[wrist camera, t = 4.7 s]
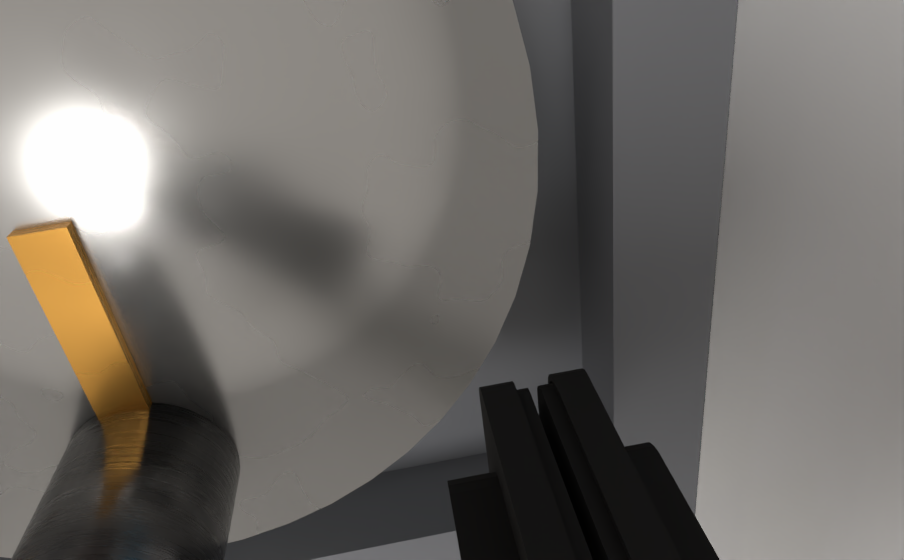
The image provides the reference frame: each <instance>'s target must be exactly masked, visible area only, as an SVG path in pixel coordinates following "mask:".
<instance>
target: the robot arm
mask: <svg viewBox="0 0 904 560" xmlns="http://www.w3.org/2000/svg"><path fill="white" fill-rule="evenodd" d="M479 396H480V404H481V412H482V420H483V428H484V436H485V444H486V451H487V459H488V467H489V473H485V474H479V475H474V476H469V477H464V478H459V479H453V480H448V481H447V482H448V488H449V494H450V500H451V505H452V511H453V517H454V523H455V529H456V534H457V540H458V546H459V551H460V557H461V560H719V558H718V556H717V554H716V552H715V551H714V549H713V547H712V545H711V544H710V542H709V540H708V538H707V537H706V535H705V533H704V531H703V529H702V528H701V526H700V524H699V522H698V521H697V519H696V517H695V515H694V513H693V512H692V510H691V508H690V506H689V505H688V503H687V501H686V499H685V498H684V496H683V494H682V492H681V490H680V489H679V487H678V485H677V483H676V482H675V480H674V478H673V476H672V475H671V473H670V471H669V469H668V467H667V466H666V464H665V462H664V460H663V459H662V457H661V455H660V453H659V452H658V450H657V449H656V448H655V446H654V445H653V444H651V443H650V442H646V443H641V444H636V445H631V446H625V447H624V445H623V443H622V441H621V439H620V437H619V435H618V433H617V431H616V429H615V427H614V425H613V423H612V421H611V419H610V417H609V415H608V413H607V411H606V409H605V407H604V405H603V403H602V401H601V399H600V397H599V395H598V393H597V392H596V390H595V388H594V386H593V384H592V382H591V380H590V378H589V376H588V374H587V372H586V371H585V369H583V368H581V369H575V370H570V371H565V372H559V373H554V374H549V376H548V384H545V385H540V386H538V387H537V396H538V410H539V414H538V412H537V409H536V406H535V404H534V401H533V398H532V396H531V393H530V391H529V389H528V388H523V389H518V390H517V389H516V387H515V384H514V382H513V381H510V382H505V383H499V384H494V385H489V386H483V387H479Z"/></svg>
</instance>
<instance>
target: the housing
mask: <svg viewBox="0 0 904 560" xmlns="http://www.w3.org/2000/svg"><path fill="white" fill-rule="evenodd" d="M513 4H514V7H515V11H516V15H517V19H518V23H519V27H520V30H521V34H522V38H523V42H524V46H525V49H526V53H527V57H528V61H529V65H530V71H531V79H532V87H533V95H534V102H535V110H536V118H537V126H538V192H537V199H536V206H535V213H534V220H533V227H532V234H531V241H530V247H529V250H528V254H527V257H526V261H525V264H524V268H523V271H522V275H521V278H520V282H519V285H518V289H517V293H516V296H515V298H514V301H513V303H512V305H511V308H510V310H509V312H508V314H507V317H506V319H505V321H504V323H503V326H502V328H501V330H500V333H499V335H498V337H497V339H496V342H495V343H494V345H493V347H492V348H491V350H490V352H489V353H488V355H487V357H486V358H485V360H484V362H483V363H482V365H481V366H480V368H479V370H478V371H477V373H476V375H475V376H474V378H473V380H472V381H471V383H470V384H469V386H468V387H467V388H466V389H465V390H464V392H463V393H462V394H461V395H460V397H459V398H458V399H457V400H456V402H455V403H454V404H453V405H452V407H451V408H450V409H449V410H448V412H447V413H446V414H445V415H444V417H443V418H442V419H441V420H440V421H439V422H438V423H437V424H436V425H435V426H434V427H433V428H432V429H431V430H430V431H429V432H428V433H427V434H426V435H425V436H424V437H423V438H422V439H421V440H420V441H419V442H418V443H417V444H416V445H415V446H414V447H412V448H411V449H410V450H409V451H408V452H407V453H406V454H405V455H403V456H402V457H401V458H399V459H398V460H397V461H395V462H394V463H393V464H392V465H390V466H389V467H388V468H386V469H385V470H384V471H382V472H381V473H380V474H378V475H377V476H376V477H374V478H373V479H372V480H370V481H369V482H367V483H365V484H364V485H362V486H360V487H359V488H357V489H355V490H354V491H352V492H350V493H349V494H347V495H345V496H344V497H342V498H340V499H339V500H337V501H335V502H334V503H332V504H330V505H328V506H326V507H324V508H321V509H319V510H317V511H315V512H313V513H311V514H308V515H306V516H304V517H302V518H300V519H298V520H296V521H293V522H291V523H289V524H286V525H283V526H281V527H278V528H275V529H272V530H269V531H266V532H263V533H260V534H257V535H255V536H252V537H249V538H246V539H243V540H239V541H235V542H231V543H227V548H226V554H225V559H224V560H461V557H460V551H459V546H458V540H457V534H456V529H455V523H454V517H453V511H452V505H451V500H450V494H449V488H448V482H447V481H448V480H453V479H459V478H464V477H469V476H474V475H479V474H485V473H489V467H488V459H487V451H486V444H485V436H484V428H483V420H482V412H481V404H480V396H479V387H483V386H489V385H494V384H499V383H505V382H510V381H513V382H514V384H515V387H516V389H517V390H518V389H523V388H528V389H529V391H530V393H531V396H532V398H533V401H534V404H535V406H536V409H537V412H538V414H539V410H538V396H537V387H538V386H540V385H545V384H548V376H549V374H554V373H559V372H565V371H570V370H575V369H581V368H583V369H585V371H586V372H587V374H588V376H589V378H590V380H591V382H592V384H593V386H594V388H595V390H596V392H597V393H598V395H599V397H600V399H601V401H602V403H603V405H604V407H605V409H606V411H607V413H608V415H609V417H610V419H611V421H612V423H613V425H614V427H615V429H616V431H617V433H618V435H619V437H620V439H621V441H622V443H623V445H624V447H625V446H631V445H636V444H641V443H646V442H650V443H651V444H653V445H654V446H655V448H656V449H657V450H658V452H659V453H660V455H661V457H662V459H663V460H664V462H665V464H666V466H667V467H668V469H669V471H670V473H671V475H672V476H673V478H674V480H675V482H676V483H677V485H678V487H679V489H680V490H681V492H682V494H683V496H684V498H685V499H686V501H687V503H688V505H689V506H690V508H691V510H692V512H693V513H694V515H695V509H696V497H697V485H698V473H699V461H700V449H701V437H702V426H703V414H704V402H705V390H706V378H707V366H708V354H709V342H710V330H711V318H712V306H713V295H714V283H715V271H716V259H717V247H718V235H719V223H720V211H721V199H722V187H723V175H724V164H725V152H726V140H727V128H728V116H729V104H730V92H731V80H732V68H733V56H734V44H735V33H736V21H737V9H738V0H513ZM0 560H11V558H6V557H0Z"/></svg>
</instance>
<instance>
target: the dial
mask: <svg viewBox="0 0 904 560" xmlns="http://www.w3.org/2000/svg"><path fill="white" fill-rule="evenodd" d="M537 192H538V126H537V118H536V110H535V102H534V95H533V87H532V79H531V71H530V65H529V61H528V57H527V53H526V49H525V46H524V42H523V38H522V34H521V30H520V27H519V23H518V19H517V15H516V11H515V7H514V4H513V0H0V557H6V558H11V560H224V559H225V554H226V548H227V543H231V542H235V541H239V540H243V539H246V538H249V537H252V536H255V535H257V534H260V533H263V532H266V531H269V530H272V529H275V528H278V527H281V526H283V525H286V524H289V523H291V522H293V521H296V520H298V519H300V518H302V517H304V516H306V515H308V514H311V513H313V512H315V511H317V510H319V509H321V508H324V507H326V506H328V505H330V504H332V503H334V502H335V501H337V500H339V499H340V498H342V497H344V496H345V495H347V494H349V493H350V492H352V491H354V490H355V489H357V488H359V487H360V486H362V485H364V484H365V483H367V482H369V481H370V480H372V479H373V478H374V477H376V476H377V475H378V474H380V473H381V472H382V471H384V470H385V469H386V468H388V467H389V466H390V465H392V464H393V463H394V462H395V461H397V460H398V459H399V458H401V457H402V456H403V455H405V454H406V453H407V452H408V451H409V450H410V449H411V448H412V447H414V446H415V445H416V444H417V443H418V442H419V441H420V440H421V439H422V438H423V437H424V436H425V435H426V434H427V433H428V432H429V431H430V430H431V429H432V428H433V427H434V426H435V425H436V424H437V423H438V422H439V421H440V420H441V419H442V418H443V417H444V415H445V414H446V413H447V412H448V410H449V409H450V408H451V407H452V405H453V404H454V403H455V402H456V400H457V399H458V398H459V397H460V395H461V394H462V393H463V392H464V390H465V389H466V388H467V387H468V386H469V384H470V383H471V381H472V380H473V378H474V376H475V375H476V373H477V371H478V370H479V368H480V366H481V365H482V363H483V362H484V360H485V358H486V357H487V355H488V353H489V352H490V350H491V348H492V347H493V345H494V343H495V342H496V339H497V337H498V335H499V333H500V330H501V328H502V326H503V323H504V321H505V319H506V317H507V314H508V312H509V310H510V308H511V305H512V303H513V301H514V298H515V296H516V293H517V289H518V285H519V282H520V278H521V275H522V271H523V268H524V264H525V261H526V257H527V254H528V250H529V247H530V241H531V234H532V227H533V220H534V213H535V206H536V199H537Z"/></svg>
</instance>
